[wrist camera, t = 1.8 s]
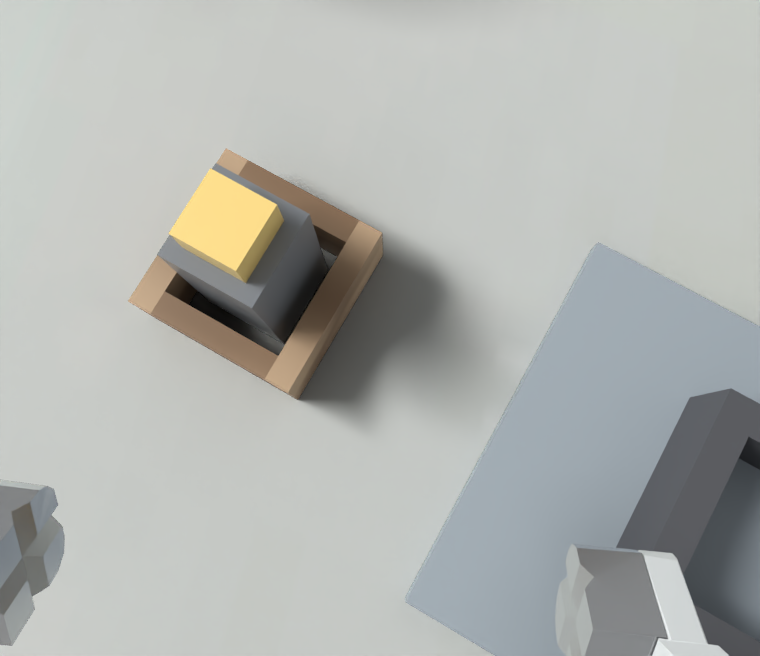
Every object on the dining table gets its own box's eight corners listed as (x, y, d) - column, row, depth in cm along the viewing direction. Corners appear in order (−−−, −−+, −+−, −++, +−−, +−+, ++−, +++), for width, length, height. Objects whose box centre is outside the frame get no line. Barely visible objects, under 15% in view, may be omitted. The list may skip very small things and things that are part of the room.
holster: (297, 399, 30) (287, 392, 27) (153, 316, 30) (127, 301, 27) (383, 255, 31) (382, 232, 28) (241, 177, 31) (226, 148, 28)
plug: (283, 343, 30) (242, 297, 22) (210, 301, 30) (141, 240, 22) (327, 270, 31) (303, 197, 22) (254, 229, 31) (204, 143, 23)
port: (893, 888, 26) (996, 975, 22) (405, 597, 28) (407, 622, 24) (1051, 490, 28) (1172, 495, 24) (591, 249, 30) (625, 212, 26)
